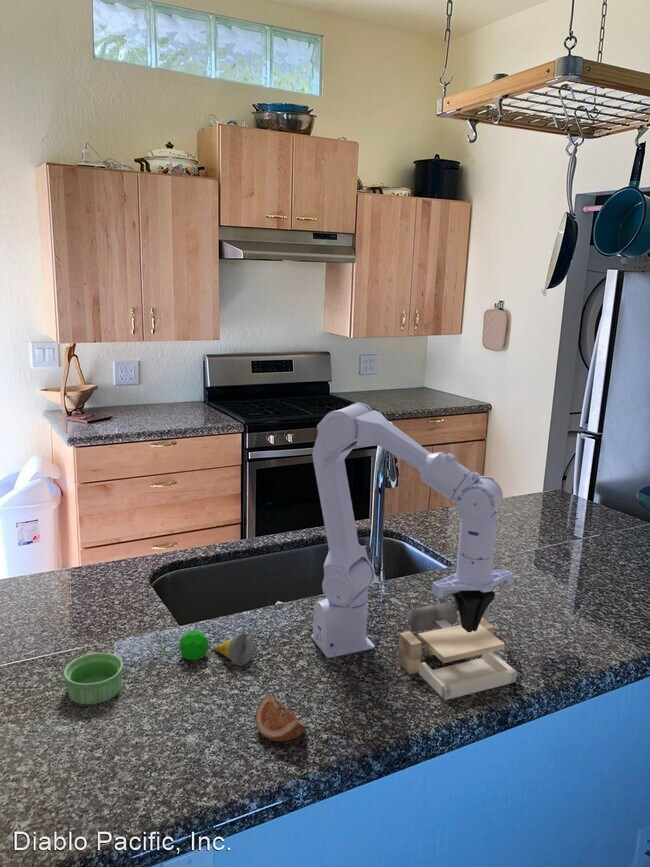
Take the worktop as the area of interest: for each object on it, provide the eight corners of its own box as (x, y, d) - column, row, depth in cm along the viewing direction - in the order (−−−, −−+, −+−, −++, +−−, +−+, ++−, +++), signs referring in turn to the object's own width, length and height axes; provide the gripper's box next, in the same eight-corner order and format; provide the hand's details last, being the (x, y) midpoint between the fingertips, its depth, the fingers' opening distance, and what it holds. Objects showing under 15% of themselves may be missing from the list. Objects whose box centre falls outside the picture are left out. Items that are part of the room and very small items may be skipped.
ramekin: (103, 669, 116) (102, 646, 115) (135, 690, 111) (134, 666, 110) (54, 693, 109) (52, 668, 108) (85, 717, 104) (84, 691, 103)
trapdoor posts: (397, 664, 120) (399, 633, 119) (478, 645, 127) (480, 616, 125) (409, 676, 116) (411, 644, 115) (491, 657, 123) (494, 626, 122)
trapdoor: (397, 627, 125) (398, 607, 124) (453, 616, 129) (454, 596, 128) (443, 671, 111) (444, 649, 110) (503, 657, 116) (505, 635, 115)
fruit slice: (315, 744, 99) (316, 714, 98) (275, 762, 95) (275, 731, 94) (285, 713, 106) (286, 685, 105) (247, 729, 102) (247, 699, 101)
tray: (444, 703, 109) (445, 689, 109) (418, 676, 117) (419, 663, 116) (515, 684, 115) (516, 671, 114) (486, 660, 122) (487, 647, 122)
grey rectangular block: (470, 633, 131) (472, 609, 130) (458, 623, 135) (460, 600, 134) (487, 629, 133) (489, 606, 132) (475, 619, 136) (477, 596, 135)
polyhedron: (177, 653, 121) (176, 628, 120) (204, 647, 123) (204, 623, 122) (183, 668, 117) (182, 643, 116) (211, 662, 119) (211, 637, 118)
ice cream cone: (249, 629, 116) (207, 628, 122) (242, 662, 114) (199, 659, 119) (269, 639, 120) (227, 637, 125) (262, 670, 117) (219, 667, 123)
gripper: (451, 569, 104) (445, 649, 108) (528, 556, 110) (520, 632, 113) (427, 551, 111) (422, 627, 114) (500, 540, 116) (493, 612, 120)
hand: (469, 628), depth 114 cm, fingers closed
